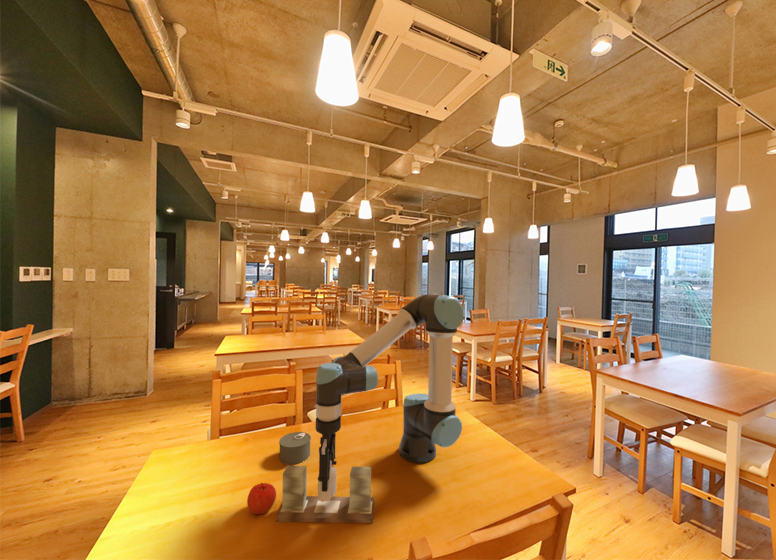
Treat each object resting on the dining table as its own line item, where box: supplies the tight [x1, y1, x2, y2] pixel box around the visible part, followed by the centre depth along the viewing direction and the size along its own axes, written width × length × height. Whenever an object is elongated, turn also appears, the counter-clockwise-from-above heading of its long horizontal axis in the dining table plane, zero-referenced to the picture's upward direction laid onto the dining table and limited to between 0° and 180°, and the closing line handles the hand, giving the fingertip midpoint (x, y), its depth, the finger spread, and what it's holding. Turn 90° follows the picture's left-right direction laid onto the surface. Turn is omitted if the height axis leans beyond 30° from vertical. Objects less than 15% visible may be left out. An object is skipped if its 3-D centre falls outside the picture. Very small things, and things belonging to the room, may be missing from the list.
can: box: [278, 431, 312, 466], centre depth 122 cm, size 12×12×7 cm
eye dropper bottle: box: [317, 460, 337, 502], centre depth 93 cm, size 4×6×12 cm
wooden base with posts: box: [275, 465, 375, 524], centre depth 93 cm, size 28×9×12 cm, turn 89°
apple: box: [246, 482, 277, 515], centre depth 93 cm, size 8×8×8 cm
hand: (327, 493), depth 93 cm, fingers closed on eye dropper bottle, 5 cm apart
